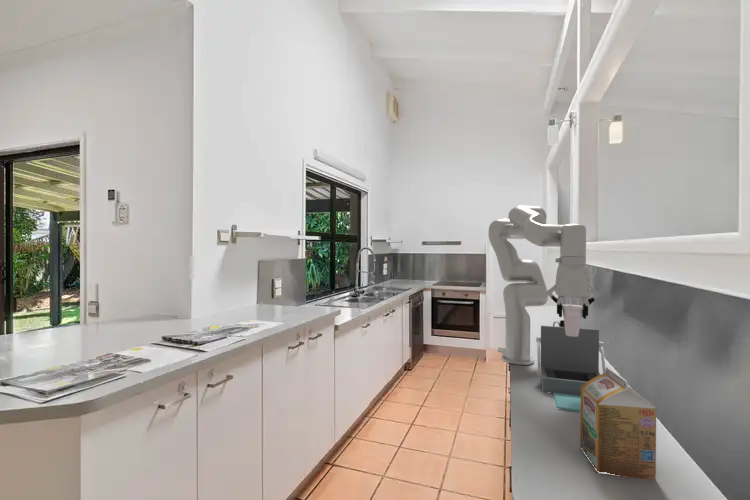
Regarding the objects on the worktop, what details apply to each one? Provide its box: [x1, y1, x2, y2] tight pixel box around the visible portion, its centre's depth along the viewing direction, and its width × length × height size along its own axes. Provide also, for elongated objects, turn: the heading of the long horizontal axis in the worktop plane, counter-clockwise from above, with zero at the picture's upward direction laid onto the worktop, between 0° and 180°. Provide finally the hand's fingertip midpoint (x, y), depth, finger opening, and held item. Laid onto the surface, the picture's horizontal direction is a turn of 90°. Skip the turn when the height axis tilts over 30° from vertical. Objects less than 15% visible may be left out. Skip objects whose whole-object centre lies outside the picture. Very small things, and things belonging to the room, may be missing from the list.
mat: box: [553, 393, 581, 413], centre depth 117 cm, size 12×12×1 cm
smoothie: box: [561, 297, 583, 337], centre depth 130 cm, size 6×6×14 cm
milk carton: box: [579, 366, 657, 481], centre depth 85 cm, size 11×11×19 cm
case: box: [536, 325, 606, 396], centre depth 131 cm, size 21×15×18 cm
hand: (572, 316), depth 130 cm, fingers closed on smoothie, 6 cm apart
